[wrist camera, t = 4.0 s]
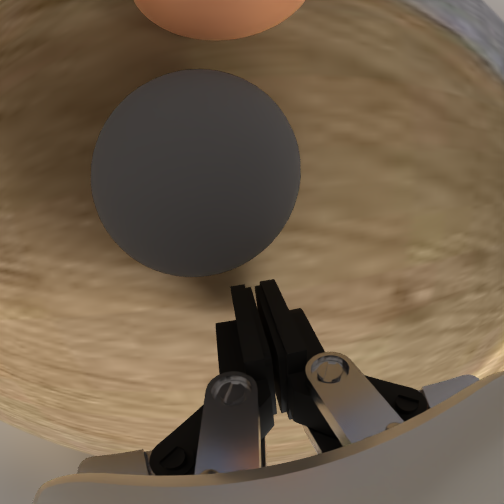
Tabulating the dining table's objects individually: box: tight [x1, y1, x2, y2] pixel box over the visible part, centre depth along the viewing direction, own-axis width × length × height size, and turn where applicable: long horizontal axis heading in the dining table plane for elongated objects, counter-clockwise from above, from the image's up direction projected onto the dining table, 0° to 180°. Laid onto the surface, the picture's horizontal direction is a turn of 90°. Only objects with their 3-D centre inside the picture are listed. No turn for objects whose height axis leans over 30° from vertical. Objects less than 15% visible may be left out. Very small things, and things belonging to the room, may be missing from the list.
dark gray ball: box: [91, 69, 301, 277], centre depth 7 cm, size 6×6×6 cm
